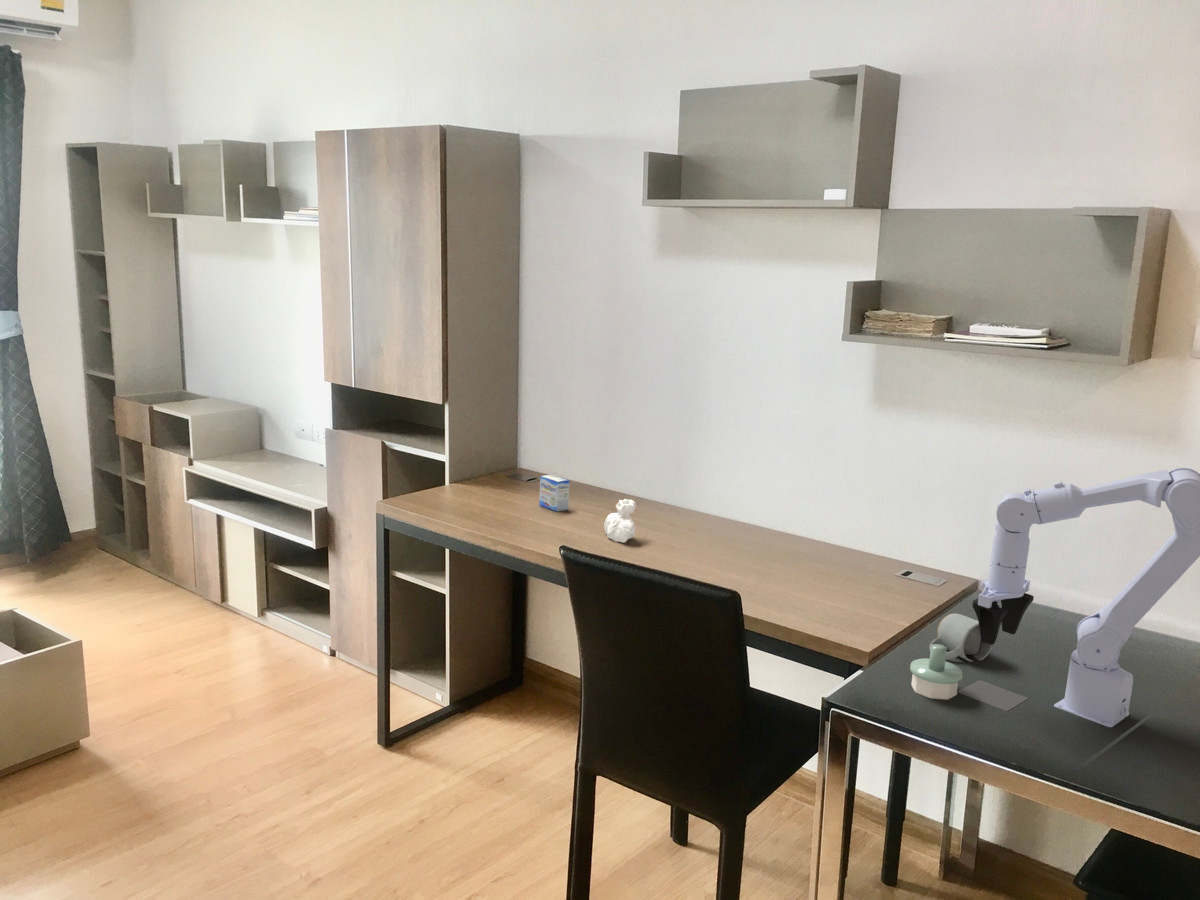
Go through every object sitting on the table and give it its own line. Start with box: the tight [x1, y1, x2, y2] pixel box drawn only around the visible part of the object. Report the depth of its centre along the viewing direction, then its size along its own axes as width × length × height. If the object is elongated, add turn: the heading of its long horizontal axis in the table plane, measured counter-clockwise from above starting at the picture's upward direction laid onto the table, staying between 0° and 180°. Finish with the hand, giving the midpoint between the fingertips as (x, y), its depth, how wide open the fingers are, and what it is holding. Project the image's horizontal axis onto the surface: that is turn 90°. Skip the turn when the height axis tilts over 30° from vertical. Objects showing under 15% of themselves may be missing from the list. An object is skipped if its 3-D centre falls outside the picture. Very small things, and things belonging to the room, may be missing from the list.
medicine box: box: [538, 474, 570, 512], centre depth 280 cm, size 8×4×9 cm, turn 43°
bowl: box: [910, 673, 959, 700], centre depth 174 cm, size 7×7×4 cm
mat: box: [957, 679, 1029, 712], centre depth 173 cm, size 9×8×1 cm
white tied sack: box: [603, 498, 637, 544], centre depth 254 cm, size 12×8×11 cm
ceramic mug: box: [929, 613, 993, 663], centre depth 190 cm, size 11×8×8 cm
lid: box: [909, 644, 963, 684], centre depth 173 cm, size 9×9×5 cm
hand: (998, 637), depth 174 cm, fingers open, 7 cm apart
